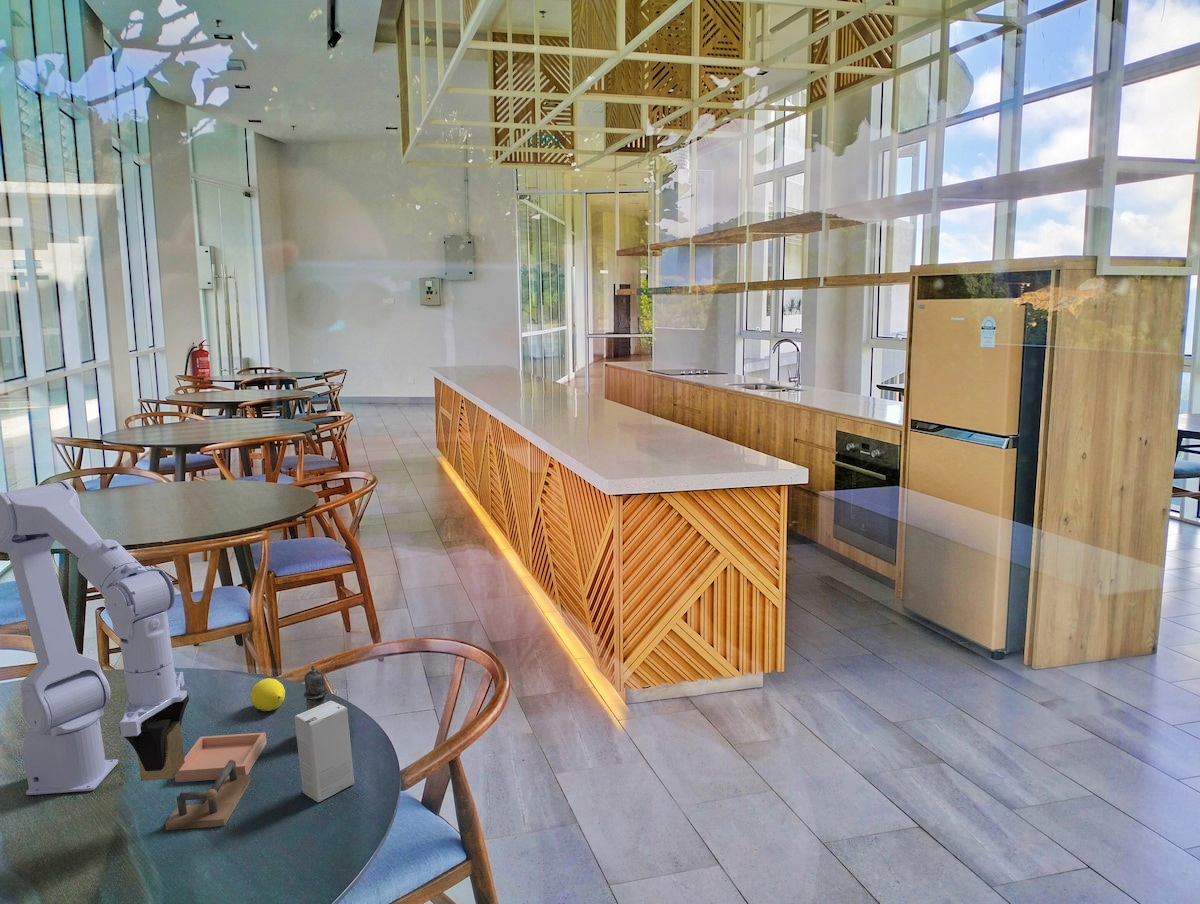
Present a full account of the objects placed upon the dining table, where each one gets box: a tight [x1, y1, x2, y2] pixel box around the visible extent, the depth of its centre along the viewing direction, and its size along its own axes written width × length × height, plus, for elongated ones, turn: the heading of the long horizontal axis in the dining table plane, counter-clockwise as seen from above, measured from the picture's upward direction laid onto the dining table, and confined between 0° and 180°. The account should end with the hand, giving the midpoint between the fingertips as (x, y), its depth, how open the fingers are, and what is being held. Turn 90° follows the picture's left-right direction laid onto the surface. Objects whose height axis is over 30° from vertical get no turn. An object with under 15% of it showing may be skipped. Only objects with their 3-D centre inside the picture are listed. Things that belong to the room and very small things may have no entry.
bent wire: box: [164, 760, 252, 831], centre depth 120 cm, size 8×11×4 cm
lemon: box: [249, 677, 286, 712], centre depth 147 cm, size 7×5×5 cm
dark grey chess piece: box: [303, 665, 328, 711], centre depth 137 cm, size 6×6×12 cm
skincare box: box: [294, 700, 355, 803], centre depth 121 cm, size 6×4×12 cm
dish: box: [174, 731, 268, 783], centre depth 131 cm, size 10×10×2 cm
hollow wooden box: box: [137, 721, 185, 781], centre depth 114 cm, size 4×4×6 cm
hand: (161, 760), depth 115 cm, fingers closed on hollow wooden box, 4 cm apart
